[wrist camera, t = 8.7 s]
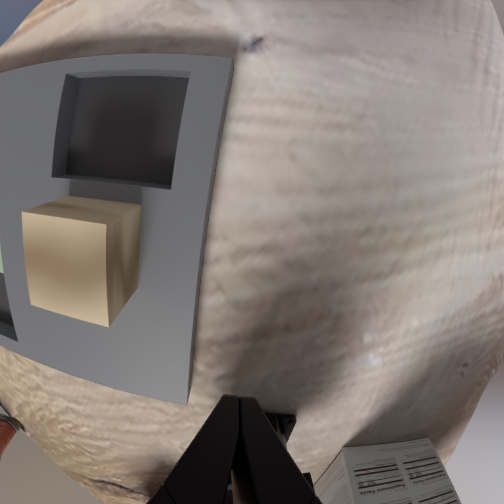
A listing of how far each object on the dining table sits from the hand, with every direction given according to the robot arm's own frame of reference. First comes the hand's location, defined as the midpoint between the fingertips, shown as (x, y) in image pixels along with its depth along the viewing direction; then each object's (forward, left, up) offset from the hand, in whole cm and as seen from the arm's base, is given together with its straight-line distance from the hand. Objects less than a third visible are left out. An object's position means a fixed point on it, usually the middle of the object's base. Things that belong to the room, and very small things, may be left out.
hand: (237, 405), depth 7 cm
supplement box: (-28, -20, -12) cm, 36 cm away
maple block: (0, +8, -10) cm, 13 cm away
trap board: (0, +14, -12) cm, 19 cm away
